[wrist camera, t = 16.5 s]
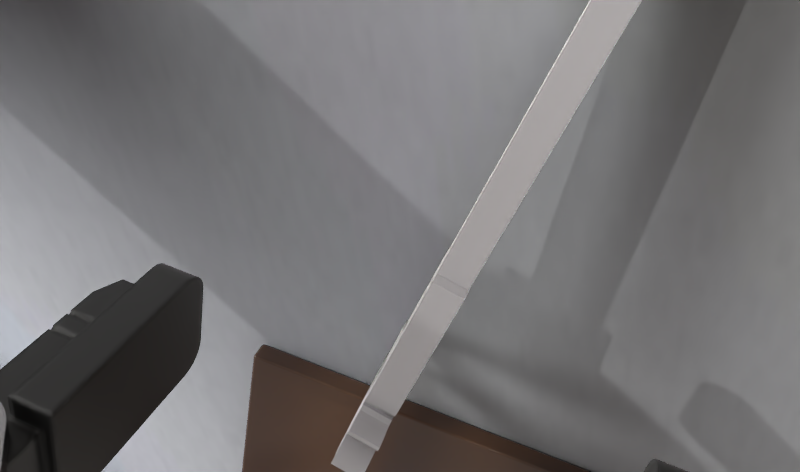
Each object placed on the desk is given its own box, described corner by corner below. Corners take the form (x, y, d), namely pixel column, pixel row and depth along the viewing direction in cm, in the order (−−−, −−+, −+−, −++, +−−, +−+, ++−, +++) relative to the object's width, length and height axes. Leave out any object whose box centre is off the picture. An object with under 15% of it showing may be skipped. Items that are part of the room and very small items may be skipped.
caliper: (410, 371, 27) (347, 507, 22) (384, 356, 27) (315, 489, 22) (784, -244, 15) (830, -252, 10) (735, -269, 15) (758, -289, 10)
